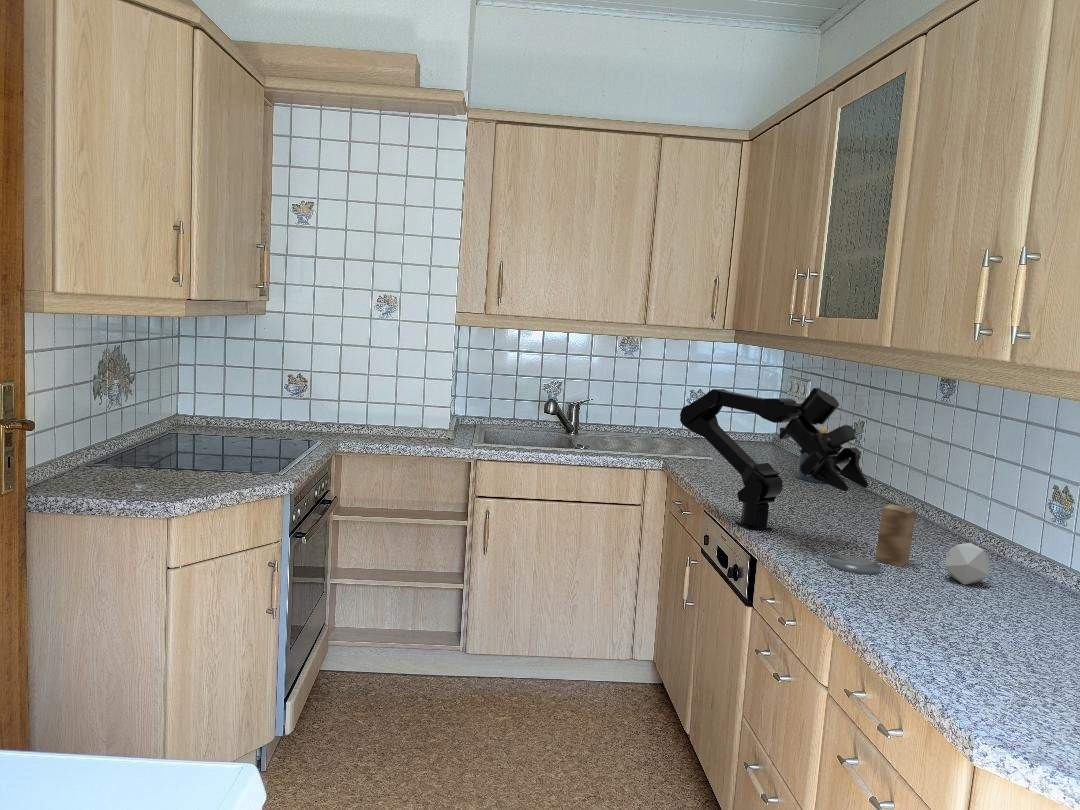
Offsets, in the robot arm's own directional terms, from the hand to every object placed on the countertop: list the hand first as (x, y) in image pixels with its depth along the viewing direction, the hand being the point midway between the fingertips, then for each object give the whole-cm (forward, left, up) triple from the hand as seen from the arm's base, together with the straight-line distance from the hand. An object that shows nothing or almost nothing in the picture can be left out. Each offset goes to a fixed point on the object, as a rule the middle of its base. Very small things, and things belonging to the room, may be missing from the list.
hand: (857, 488), depth 193 cm
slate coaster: (+8, -5, -15) cm, 18 cm away
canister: (-79, +51, -15) cm, 95 cm away
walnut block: (+6, +7, -15) cm, 18 cm away
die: (+19, +14, -15) cm, 28 cm away
